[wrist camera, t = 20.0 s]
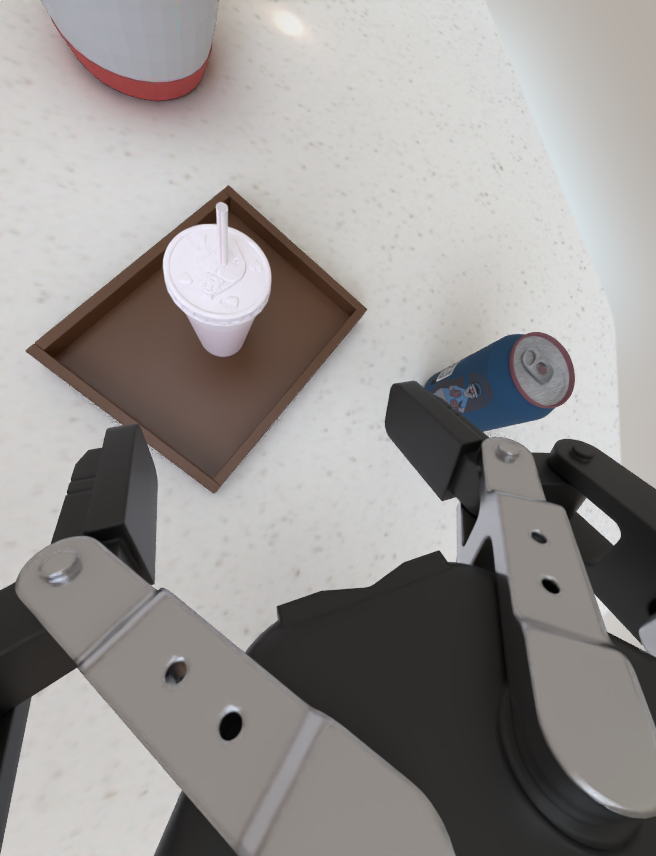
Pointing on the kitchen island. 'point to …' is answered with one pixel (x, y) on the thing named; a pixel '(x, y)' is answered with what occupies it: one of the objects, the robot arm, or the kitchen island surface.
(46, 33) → the kitchen island surface
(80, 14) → the citrus juicer
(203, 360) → the tray
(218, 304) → the smoothie
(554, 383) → the soda can
